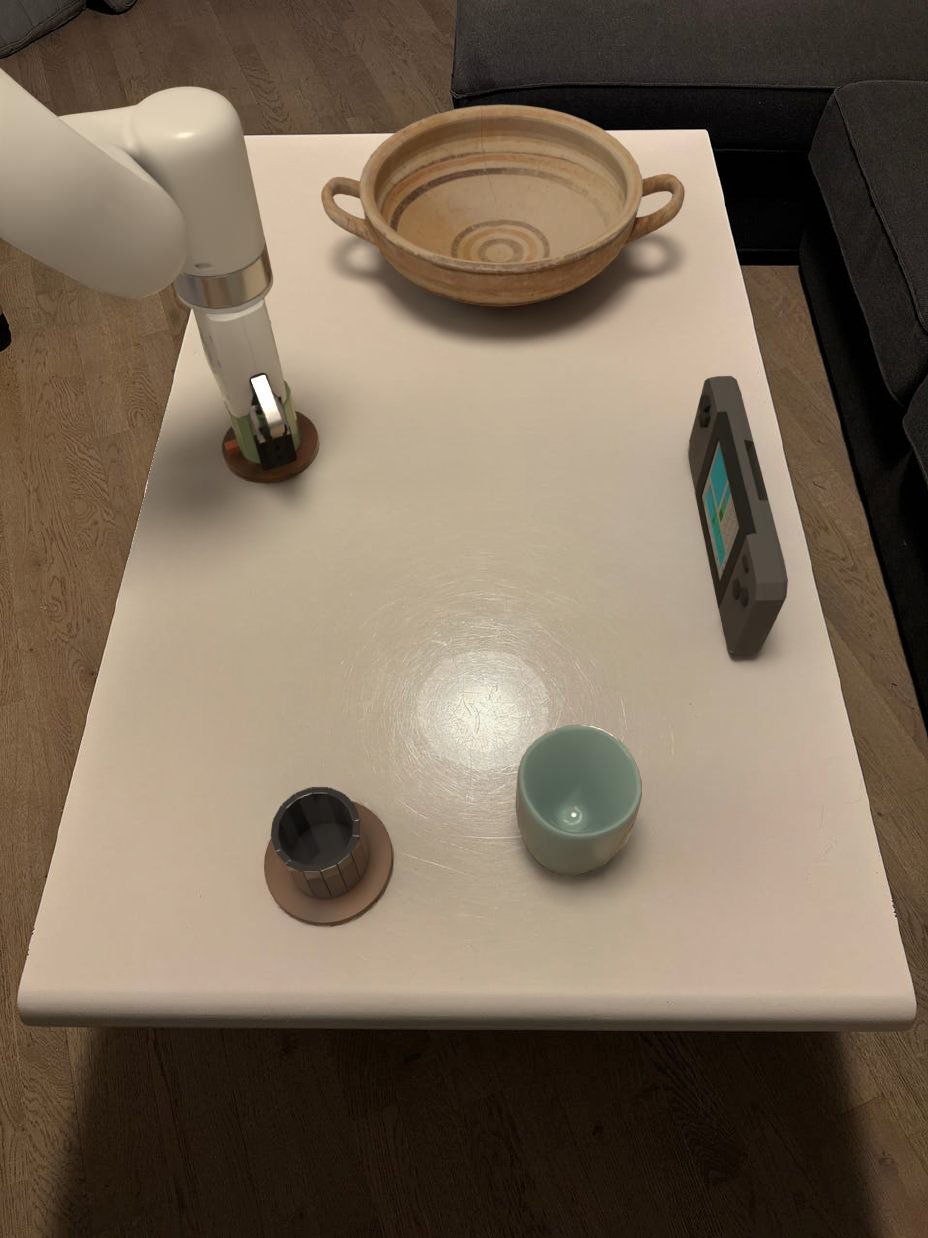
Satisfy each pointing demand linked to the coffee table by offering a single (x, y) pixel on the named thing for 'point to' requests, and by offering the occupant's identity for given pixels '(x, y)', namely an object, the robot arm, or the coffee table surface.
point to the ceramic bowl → (501, 203)
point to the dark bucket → (320, 842)
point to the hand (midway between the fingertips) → (262, 428)
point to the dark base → (347, 904)
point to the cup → (576, 798)
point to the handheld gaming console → (736, 518)
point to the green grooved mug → (246, 430)
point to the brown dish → (257, 474)
